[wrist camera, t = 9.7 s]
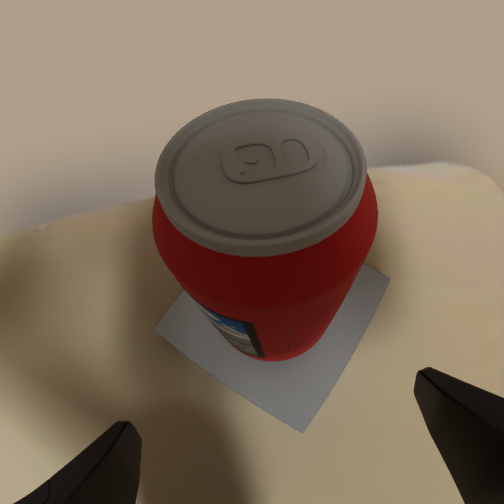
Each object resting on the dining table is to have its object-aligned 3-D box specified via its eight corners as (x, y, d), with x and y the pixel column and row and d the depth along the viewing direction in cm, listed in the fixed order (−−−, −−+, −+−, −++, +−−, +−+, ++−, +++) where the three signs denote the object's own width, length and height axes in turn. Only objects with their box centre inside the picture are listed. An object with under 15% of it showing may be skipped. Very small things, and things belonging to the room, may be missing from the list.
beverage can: (211, 270, 19) (139, 115, 9) (312, 248, 19) (332, 79, 9) (228, 374, 16) (122, 311, 5) (342, 347, 16) (443, 238, 5)
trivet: (301, 431, 14) (302, 433, 14) (158, 333, 18) (152, 329, 17) (385, 284, 18) (390, 278, 17) (252, 214, 22) (251, 206, 21)
